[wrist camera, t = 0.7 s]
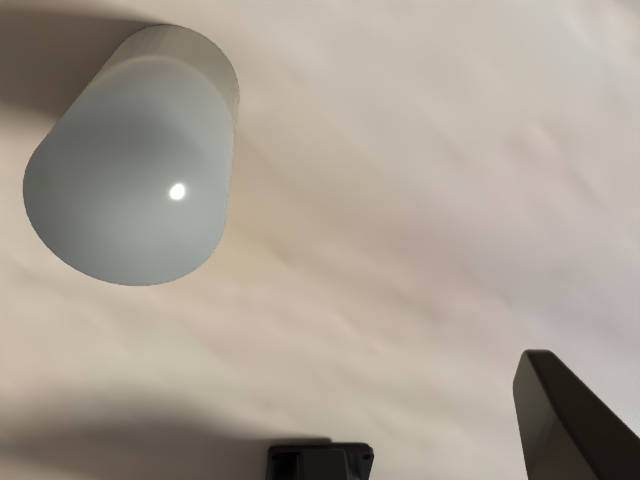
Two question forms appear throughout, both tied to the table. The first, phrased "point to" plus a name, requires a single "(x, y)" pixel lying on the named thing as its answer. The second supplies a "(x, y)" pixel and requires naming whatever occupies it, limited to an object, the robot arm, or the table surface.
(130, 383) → the table surface
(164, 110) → the cylinder block
